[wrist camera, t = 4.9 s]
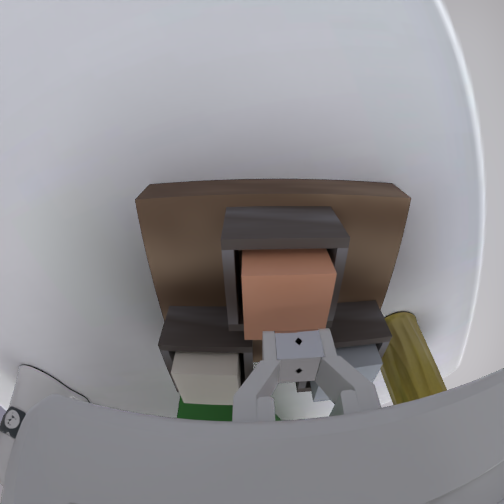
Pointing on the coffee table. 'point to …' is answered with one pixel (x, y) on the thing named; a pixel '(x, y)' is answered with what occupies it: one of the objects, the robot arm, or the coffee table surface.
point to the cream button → (207, 377)
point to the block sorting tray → (267, 237)
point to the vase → (409, 362)
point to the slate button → (354, 365)
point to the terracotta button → (286, 290)
